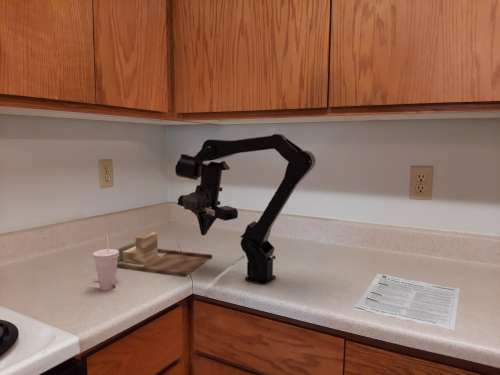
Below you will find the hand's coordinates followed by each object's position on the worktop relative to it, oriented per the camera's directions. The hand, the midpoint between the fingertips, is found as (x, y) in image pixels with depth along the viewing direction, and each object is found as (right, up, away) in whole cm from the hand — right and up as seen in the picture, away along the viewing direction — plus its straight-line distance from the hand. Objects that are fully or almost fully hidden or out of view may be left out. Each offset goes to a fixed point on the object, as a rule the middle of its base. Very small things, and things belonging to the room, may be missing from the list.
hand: (203, 235), depth 107 cm
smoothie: (-24, -13, -11) cm, 29 cm away
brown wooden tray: (-14, -11, +6) cm, 18 cm away
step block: (-21, -9, +8) cm, 24 cm away
